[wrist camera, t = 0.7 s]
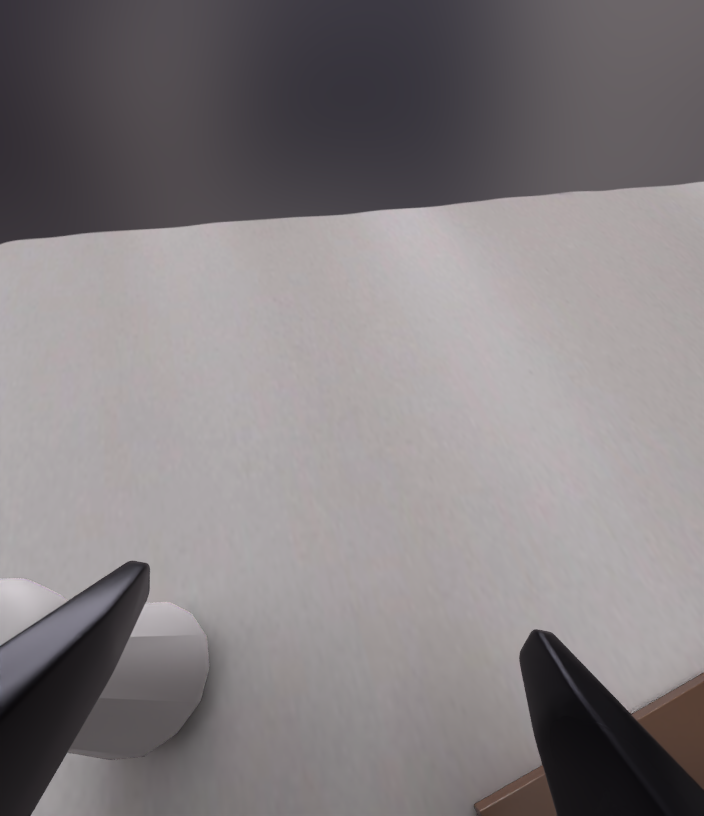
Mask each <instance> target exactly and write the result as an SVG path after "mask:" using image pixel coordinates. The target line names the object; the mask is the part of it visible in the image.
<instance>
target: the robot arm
mask: <svg viewBox="0 0 704 816" xmlns="http://www.w3.org/2000/svg"><path fill="white" fill-rule="evenodd" d="M149 589H150V567H149V565H148V564H147V563H143V562H137V561H129V562H127V563H125V564H124V565H122V566H121V567H119V568H117V569H116V570H114V571H113V572H111V573H110V574H108V575H107V576H105V577H104V578H102V579H101V580H99V581H98V582H96V583H95V584H93V585H92V586H90V587H89V588H87V589H86V590H84V591H83V592H81V593H79V594H78V595H76V596H75V597H73V598H72V599H70V600H69V601H67V602H66V603H64V604H63V605H61V606H60V607H58V608H57V609H55V610H54V611H52V612H51V613H49V614H48V615H46V616H45V617H43V618H41V619H40V620H38V621H37V622H35V623H34V624H32V625H31V626H29V627H28V628H26V629H25V630H23V631H22V632H20V633H19V634H17V635H16V636H14V637H13V638H11V639H10V640H8V641H7V642H5V643H3V644H2V645H0V816H31V814H32V812H33V811H34V809H35V807H36V805H37V804H38V802H39V800H40V799H41V797H42V795H43V793H44V792H45V790H46V788H47V786H48V785H49V783H50V781H51V780H52V778H53V776H54V774H55V773H56V771H57V769H58V768H59V766H60V764H61V762H62V761H63V759H64V757H65V755H66V754H67V752H68V750H69V749H70V747H71V745H72V743H73V742H74V740H75V738H76V737H77V735H78V733H79V731H80V730H81V728H82V726H83V724H84V723H85V721H86V719H87V718H88V716H89V714H90V712H91V711H92V709H93V707H94V706H95V704H96V702H97V700H98V699H99V697H100V695H101V693H102V692H103V690H104V688H105V687H106V685H107V683H108V681H109V679H110V678H111V676H112V674H113V672H114V670H115V668H116V666H117V664H118V662H119V659H120V657H121V655H122V653H123V651H124V649H125V646H126V644H127V642H128V640H129V638H130V636H131V633H132V631H133V629H134V627H135V625H136V623H137V620H138V618H139V616H140V614H141V612H142V610H143V607H144V605H145V603H146V601H147V598H148V595H149ZM519 659H520V667H521V672H522V677H523V682H524V687H525V692H526V697H527V702H528V707H529V712H530V717H531V722H532V727H533V731H534V736H535V740H536V743H537V747H538V751H539V754H540V758H541V761H542V765H543V768H544V772H545V775H546V779H547V782H548V785H549V789H550V792H551V796H552V799H553V803H554V806H555V810H556V813H557V816H704V789H703V788H702V787H701V786H700V785H699V784H698V783H697V782H696V781H695V780H694V779H693V778H692V777H691V776H690V775H689V774H688V773H687V772H686V771H685V770H684V769H683V768H682V767H681V766H680V764H679V763H678V762H677V761H676V760H675V759H674V758H673V757H672V756H671V755H670V754H669V753H668V752H667V751H666V750H665V749H664V748H663V747H662V746H661V745H660V744H659V743H658V742H657V741H656V740H655V739H654V738H653V737H652V735H651V734H650V733H649V732H648V731H647V730H646V729H645V728H644V727H643V726H642V725H641V724H640V723H639V722H638V721H637V720H636V719H635V718H634V717H633V716H632V715H631V714H630V713H629V712H628V711H627V710H626V709H625V707H624V706H623V705H622V704H621V703H620V702H619V701H618V700H617V699H616V698H615V697H614V696H613V695H612V694H611V693H610V692H609V691H608V690H607V689H606V688H605V687H604V686H603V685H602V684H601V683H600V682H599V681H598V680H597V678H596V677H595V676H594V675H593V674H592V673H591V672H590V671H589V670H588V669H587V668H586V667H585V666H584V665H583V664H582V663H581V662H580V661H579V660H578V659H577V658H576V657H575V656H574V655H573V654H572V653H571V652H570V650H569V649H568V648H567V647H566V646H565V645H564V644H563V643H562V642H561V641H560V640H559V639H558V638H557V637H556V636H555V635H554V634H553V633H551V632H548V631H543V630H533V631H532V632H531V633H530V635H529V637H528V638H527V640H526V642H525V644H524V646H523V647H522V649H521V651H520V657H519Z"/></svg>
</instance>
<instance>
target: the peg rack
mask: <svg viewBox="0 0 704 816" xmlns="http://www.w3.org/2000/svg"><path fill="white" fill-rule="evenodd" d="M631 715H632V716H633V717H634V718H635V719H636V720H637V721H638V722H639V723H640V724H641V725H642V726H643V727H644V728H645V729H646V730H647V731H648V732H649V733H650V734H651V735H652V737H653V738H654V739H655V740H656V741H657V742H658V743H659V744H660V745H661V746H662V747H663V748H664V749H665V750H666V751H667V752H668V753H669V754H670V755H671V756H672V757H673V758H674V759H675V760H676V761H677V762H678V763H679V764H680V766H681V767H682V768H683V769H684V770H685V771H686V772H687V773H688V774H689V775H690V776H691V777H692V778H693V779H694V780H695V781H696V782H697V783H698V784H699V785H700V786H701V787H702V788H703V789H704V673H703V674H701V675H699V676H697V677H696V678H694V679H692V680H690V681H689V682H687V683H685V684H683V685H682V686H680V687H678V688H676V689H675V690H673V691H671V692H669V693H668V694H666V695H664V696H662V697H661V698H659V699H657V700H655V701H654V702H652V703H650V704H649V705H647V706H645V707H643V708H642V709H640V710H638V711H636V712H635V713H633V714H631ZM474 807H475V810H476V812H477V815H478V816H557V813H556V810H555V806H554V803H553V799H552V796H551V792H550V789H549V785H548V782H547V779H546V775H545V772H544V768H543V765H542V766H540V767H539V768H537V769H535V770H533V771H532V772H530V773H528V774H526V775H525V776H523V777H521V778H519V779H518V780H516V781H514V782H512V783H511V784H509V785H507V786H506V787H504V788H502V789H500V790H499V791H497V792H495V793H493V794H492V795H490V796H488V797H486V798H485V799H483V800H481V801H479V802H478V803H476V804H474Z"/></svg>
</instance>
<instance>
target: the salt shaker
mask: <svg viewBox="0 0 704 816" xmlns="http://www.w3.org/2000/svg"><path fill="white" fill-rule="evenodd" d="M66 602H67V599H66V598H65V597H64V596H62V595H60V594H58V593H56V592H54V591H52V590H50V589H48V588H46V587H44V586H42V585H40V584H38V583H35V582H33V581H31V580H28V579H23V578H2V579H0V645H2V644H3V643H5V642H7V641H8V640H10V639H11V638H13V637H14V636H16V635H17V634H19V633H20V632H22V631H23V630H25V629H26V628H28V627H29V626H31V625H32V624H34V623H35V622H37V621H38V620H40V619H41V618H43V617H45V616H46V615H48V614H49V613H51V612H52V611H54V610H55V609H57V608H58V607H60V606H61V605H63V604H64V603H66ZM209 667H210V666H209V653H208V640H207V636H206V634H205V633H204V631H203V630H202V628H201V627H200V625H199V624H198V622H197V621H196V619H195V618H194V617H193V615H192V614H191V613H190V612H188V611H186V610H184V609H182V608H180V607H178V606H176V605H174V604H172V603H170V602H155V603H145V605H144V607H143V610H142V612H141V614H140V616H139V618H138V620H137V623H136V625H135V627H134V629H133V631H132V633H131V636H130V638H129V640H128V642H127V644H126V646H125V649H124V651H123V653H122V655H121V657H120V659H119V662H118V664H117V666H116V668H115V670H114V672H113V674H112V676H111V678H110V679H109V681H108V683H107V685H106V687H105V688H104V690H103V692H102V693H101V695H100V697H99V699H98V700H97V702H96V704H95V706H94V707H93V709H92V711H91V712H90V714H89V716H88V718H87V719H86V721H85V723H84V724H83V726H82V728H81V730H80V731H79V733H78V735H77V737H76V738H75V740H74V742H73V743H72V745H71V747H70V749H69V750H68V753H74V754H79V755H85V756H91V757H96V758H102V759H108V760H115V759H125V758H135V757H144V756H145V755H147V754H148V753H150V752H151V751H152V750H154V749H155V748H157V747H158V746H160V745H161V744H162V743H164V742H165V741H167V740H168V739H170V738H171V737H173V736H174V735H175V734H176V733H177V732H178V731H179V730H180V729H181V727H182V726H183V725H184V723H185V722H186V720H187V719H188V718H189V716H190V715H191V714H192V712H193V711H194V709H195V708H196V707H197V705H198V704H199V703H200V701H201V698H202V694H203V690H204V686H205V683H206V679H207V675H208V671H209Z"/></svg>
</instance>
